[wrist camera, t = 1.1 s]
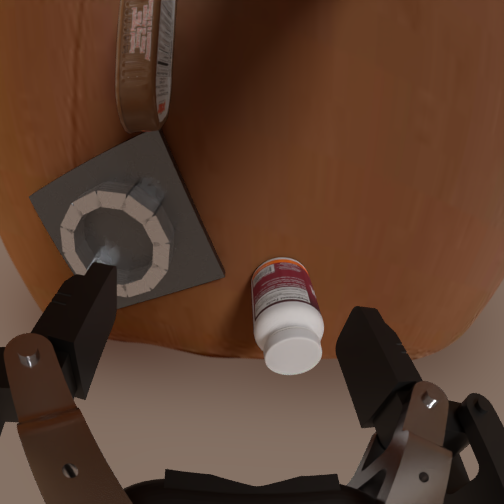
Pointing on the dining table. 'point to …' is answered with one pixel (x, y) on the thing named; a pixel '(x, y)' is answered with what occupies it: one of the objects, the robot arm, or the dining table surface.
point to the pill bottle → (286, 316)
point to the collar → (130, 220)
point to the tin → (144, 63)
